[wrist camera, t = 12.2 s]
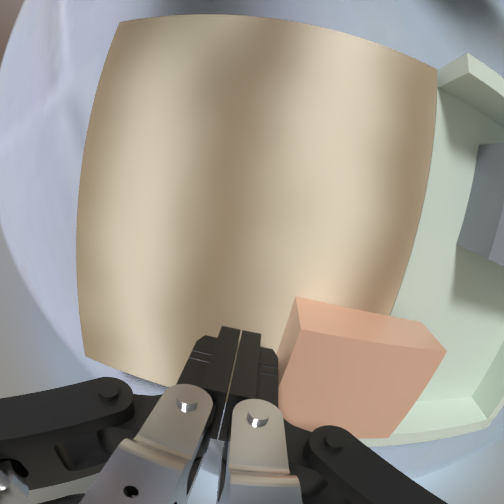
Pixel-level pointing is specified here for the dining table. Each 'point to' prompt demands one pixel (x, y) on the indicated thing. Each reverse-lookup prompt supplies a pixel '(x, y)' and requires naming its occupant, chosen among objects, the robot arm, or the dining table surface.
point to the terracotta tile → (352, 368)
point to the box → (455, 267)
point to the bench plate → (243, 182)
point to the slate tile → (486, 206)
